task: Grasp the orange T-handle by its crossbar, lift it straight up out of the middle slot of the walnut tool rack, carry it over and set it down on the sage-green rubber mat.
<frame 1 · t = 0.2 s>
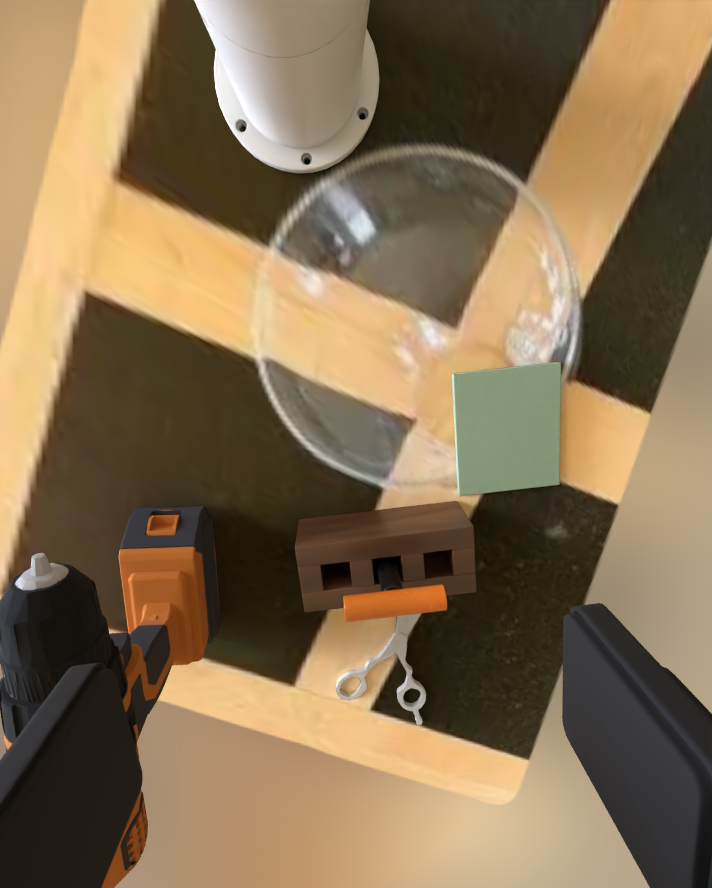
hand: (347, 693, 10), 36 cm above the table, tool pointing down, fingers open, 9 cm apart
scissors: (400, 637, 53), on the table
mat: (506, 430, 47), on the table
power drill: (180, 543, 49), on the table
tool rack: (381, 539, 49), on the table
t handle: (387, 570, 44), in the tool rack
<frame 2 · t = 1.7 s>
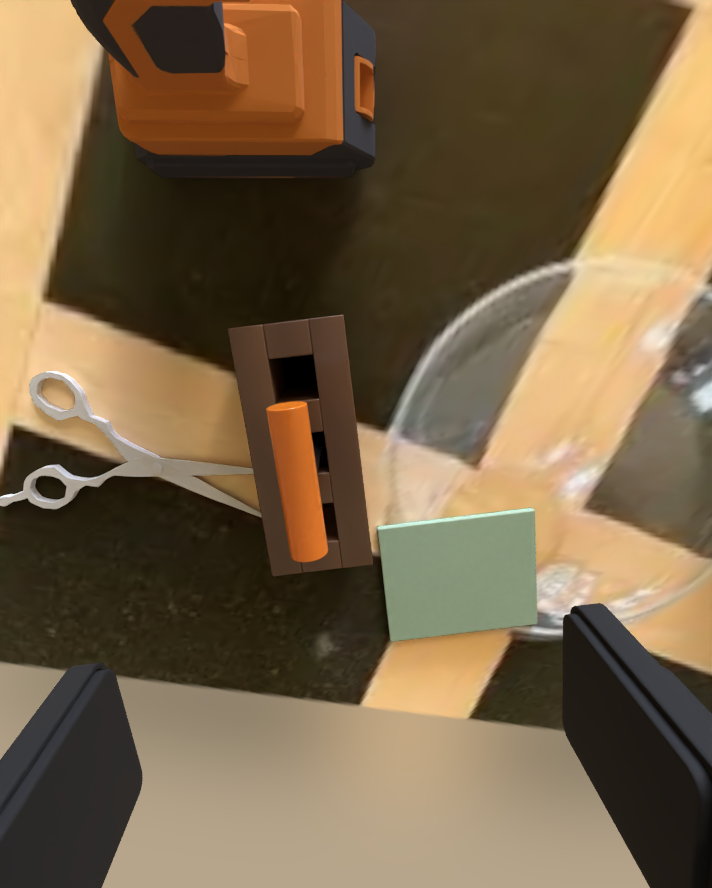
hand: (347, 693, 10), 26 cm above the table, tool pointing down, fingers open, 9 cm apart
scissors: (151, 464, 36), on the table, touching tool rack
mat: (458, 574, 39), on the table
power drill: (298, 117, 30), on the table
tool rack: (310, 431, 35), on the table
t handle: (305, 454, 30), in the tool rack
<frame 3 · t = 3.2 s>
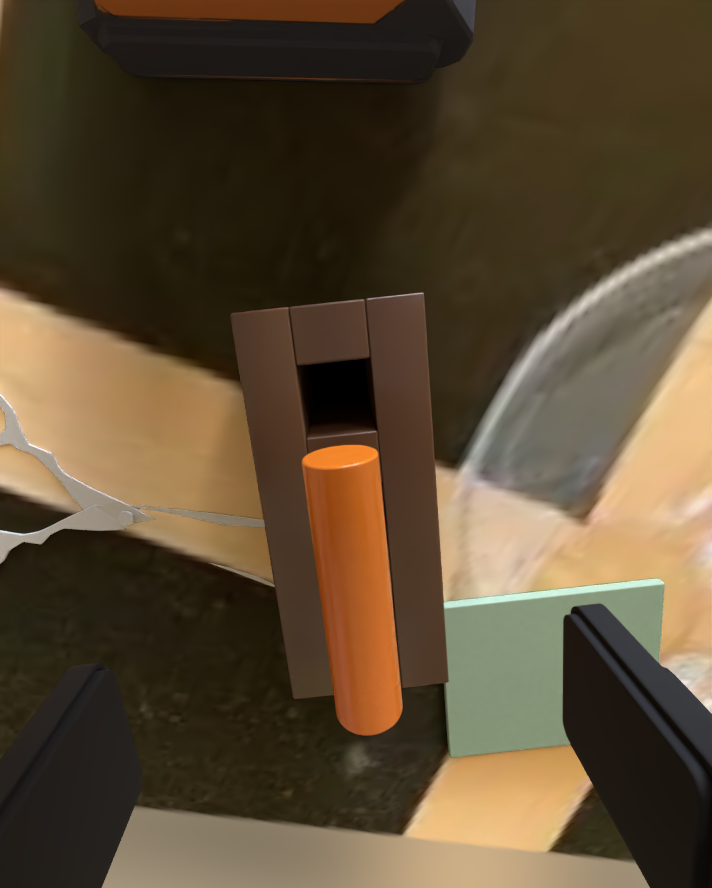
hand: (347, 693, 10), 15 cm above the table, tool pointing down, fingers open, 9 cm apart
scissors: (118, 511, 25), on the table
mat: (548, 667, 28), on the table
tool rack: (348, 469, 24), on the table
t handle: (351, 518, 18), in the tool rack
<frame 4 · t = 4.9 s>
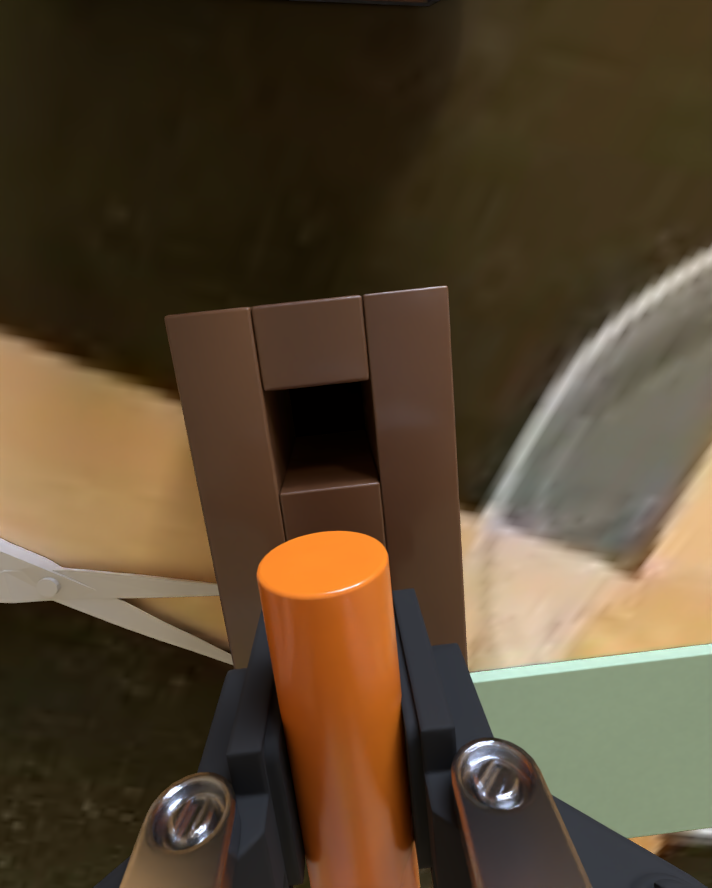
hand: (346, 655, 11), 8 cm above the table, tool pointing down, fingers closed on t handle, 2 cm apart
scissors: (41, 575, 19), on the table, touching tool rack
mat: (586, 749, 23), on the table
tool rack: (340, 514, 19), on the table
t handle: (343, 602, 13), in the tool rack, touching gripper
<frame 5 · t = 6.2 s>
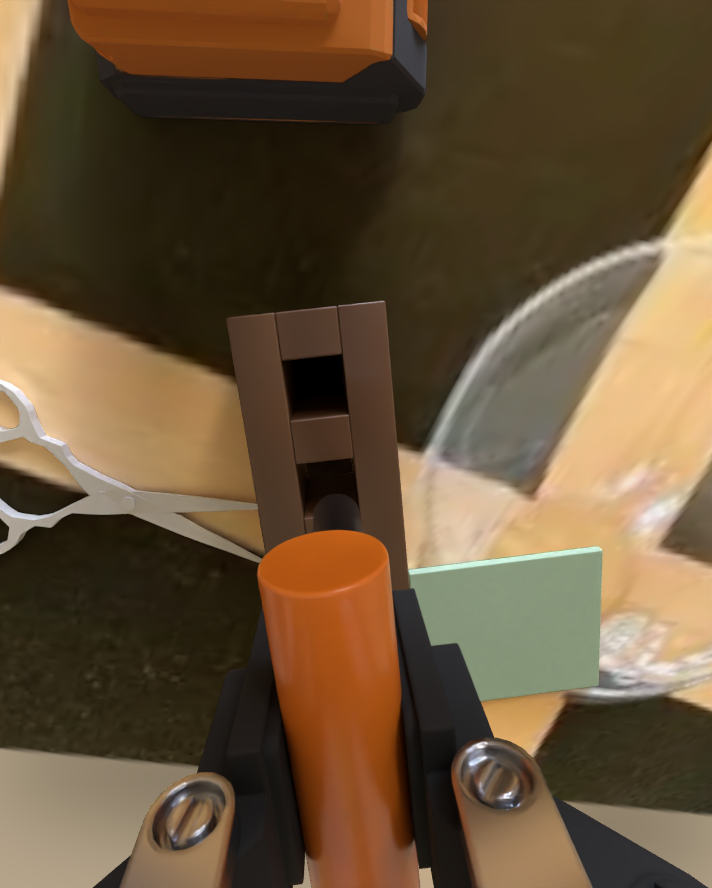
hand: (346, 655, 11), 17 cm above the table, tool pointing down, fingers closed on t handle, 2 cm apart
scissors: (121, 498, 28), on the table, touching tool rack
mat: (505, 627, 32), on the table
power drill: (319, 41, 23), on the table
tool rack: (327, 453, 28), on the table
t handle: (341, 601, 13), point 15 cm above the table, touching gripper
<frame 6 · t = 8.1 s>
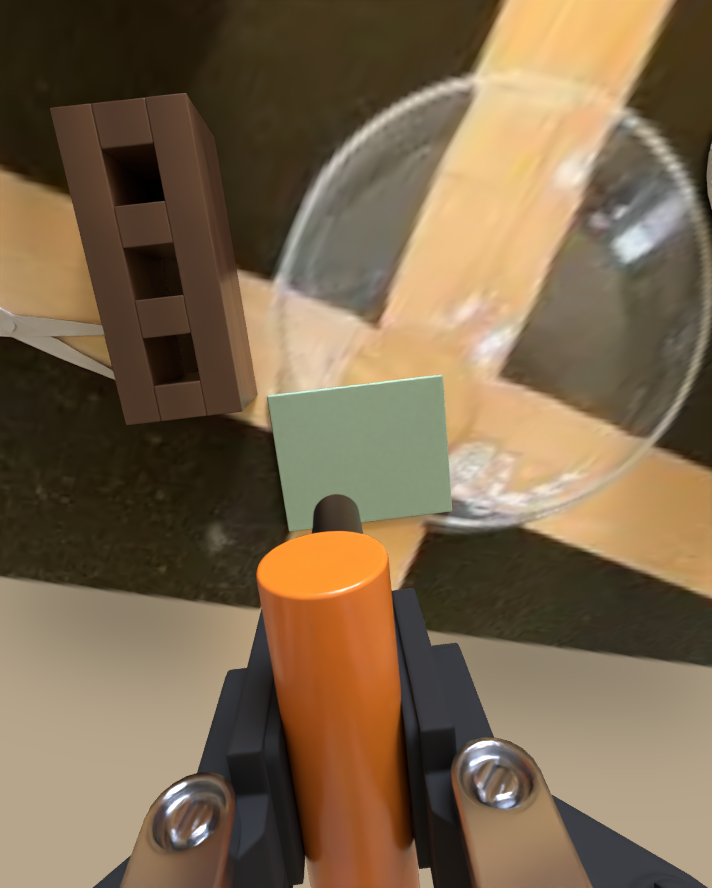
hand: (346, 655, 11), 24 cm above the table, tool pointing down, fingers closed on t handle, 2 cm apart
scissors: (5, 325, 32), on the table
mat: (362, 454, 35), on the table
tool rack: (186, 280, 31), on the table
t handle: (341, 602, 13), point 22 cm above the table, touching gripper
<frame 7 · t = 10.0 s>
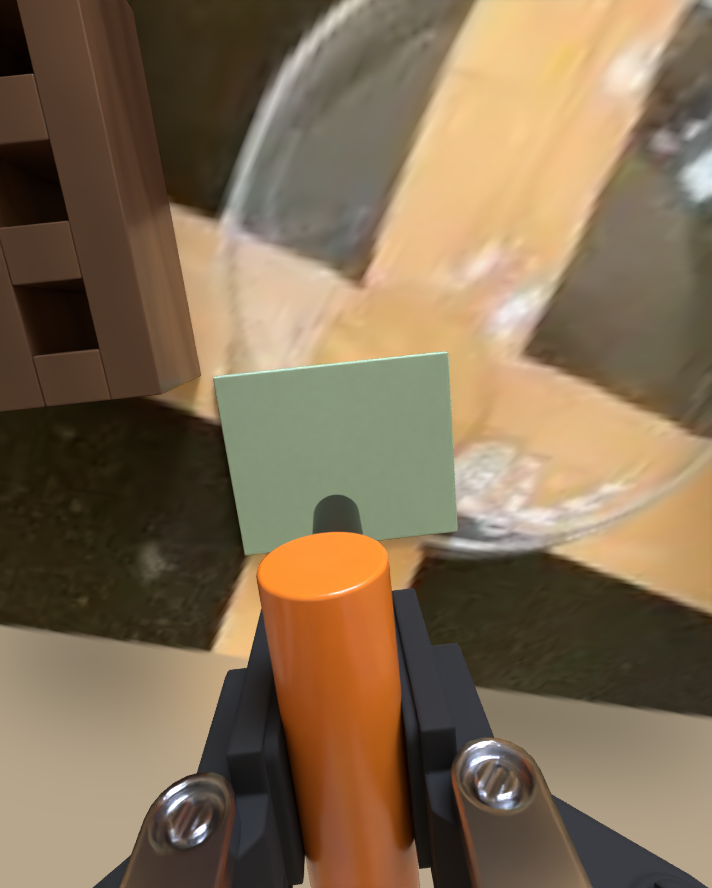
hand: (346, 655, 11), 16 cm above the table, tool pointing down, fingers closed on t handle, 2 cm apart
mat: (341, 455, 27), on the table
tool rack: (100, 216, 23), on the table
t handle: (341, 603, 13), point 14 cm above the table, touching gripper
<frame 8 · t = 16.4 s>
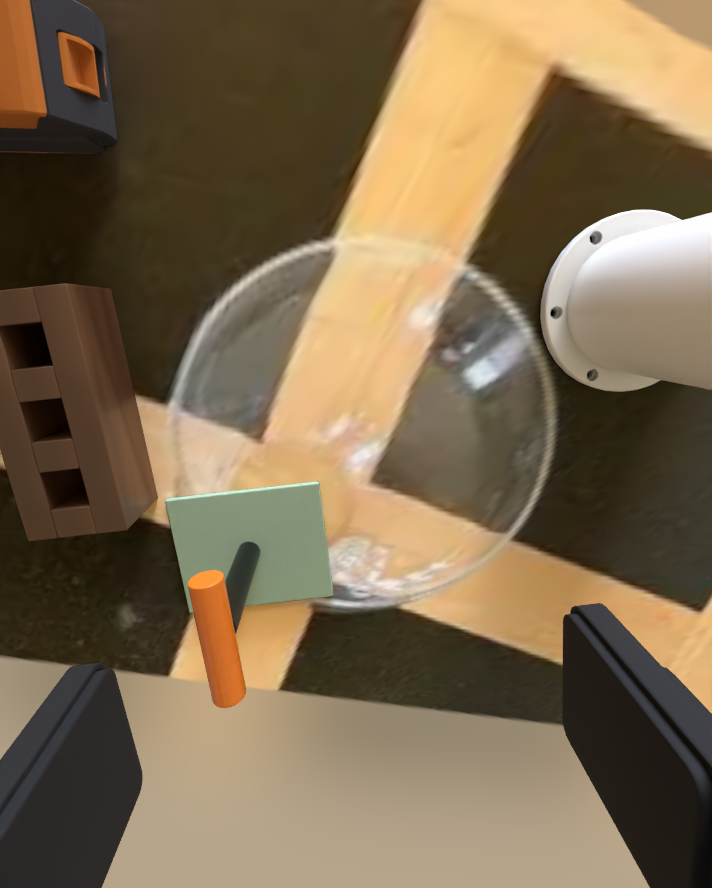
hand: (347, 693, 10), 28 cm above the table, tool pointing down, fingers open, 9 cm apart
mat: (253, 546, 40), on the table
power drill: (48, 94, 31), on the table
tool rack: (91, 404, 36), on the table
t handle: (234, 592, 33), on the mat, point 7 cm above the table
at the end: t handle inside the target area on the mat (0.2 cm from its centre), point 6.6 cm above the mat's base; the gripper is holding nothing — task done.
